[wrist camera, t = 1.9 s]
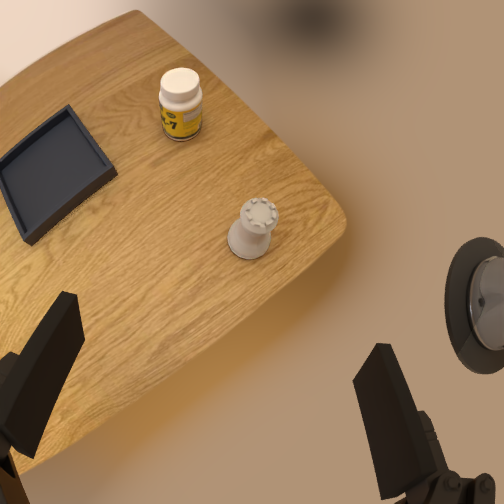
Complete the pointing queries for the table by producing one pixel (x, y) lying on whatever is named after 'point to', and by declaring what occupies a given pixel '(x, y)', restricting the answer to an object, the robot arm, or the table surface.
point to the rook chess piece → (253, 228)
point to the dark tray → (52, 173)
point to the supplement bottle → (181, 104)
